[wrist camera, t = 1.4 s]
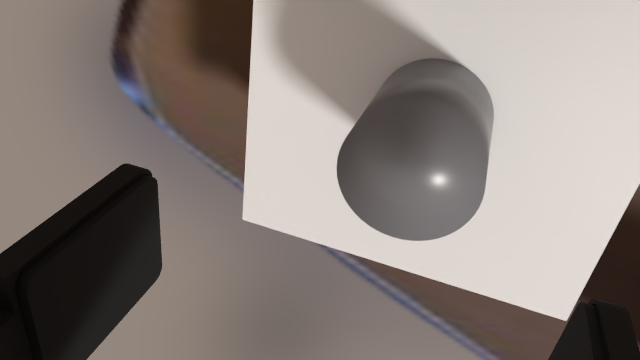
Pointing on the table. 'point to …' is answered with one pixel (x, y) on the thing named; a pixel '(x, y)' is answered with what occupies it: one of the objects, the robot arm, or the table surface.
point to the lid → (449, 136)
